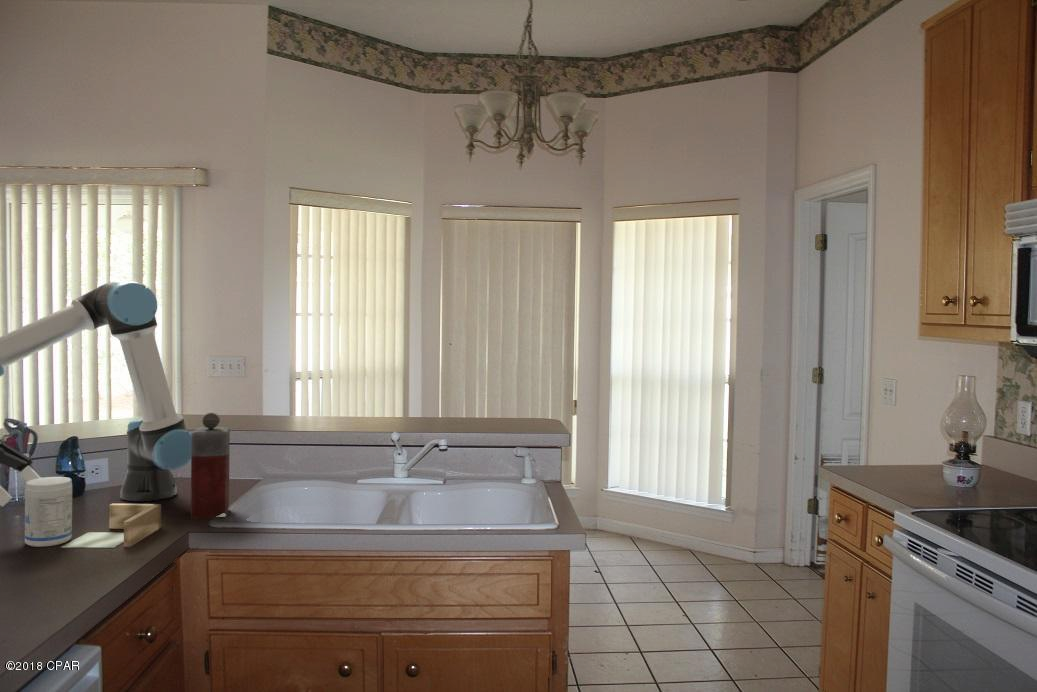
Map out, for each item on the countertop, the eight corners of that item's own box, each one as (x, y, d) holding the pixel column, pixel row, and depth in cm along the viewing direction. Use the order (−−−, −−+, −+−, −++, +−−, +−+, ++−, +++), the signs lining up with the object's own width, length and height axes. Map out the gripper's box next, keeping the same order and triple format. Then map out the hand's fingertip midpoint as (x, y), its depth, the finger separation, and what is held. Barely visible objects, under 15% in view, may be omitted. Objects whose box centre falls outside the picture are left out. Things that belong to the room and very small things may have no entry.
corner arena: (61, 547, 175) (61, 522, 175) (100, 526, 193) (100, 503, 192) (128, 548, 176) (128, 522, 175) (161, 527, 193) (161, 504, 193)
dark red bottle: (229, 507, 215) (230, 409, 214) (226, 517, 204) (227, 414, 203) (195, 508, 212) (196, 409, 211) (190, 519, 202) (191, 414, 201)
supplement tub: (20, 540, 179) (21, 479, 179) (66, 533, 186) (66, 474, 185) (29, 550, 172) (29, 486, 172) (76, 542, 179) (76, 481, 178)
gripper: (-15, 433, 189) (45, 493, 190) (-93, 450, 164) (-22, 519, 165) (6, 412, 189) (67, 473, 190) (-67, 426, 164) (3, 496, 165)
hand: (25, 495), depth 178 cm, fingers open, 13 cm apart
